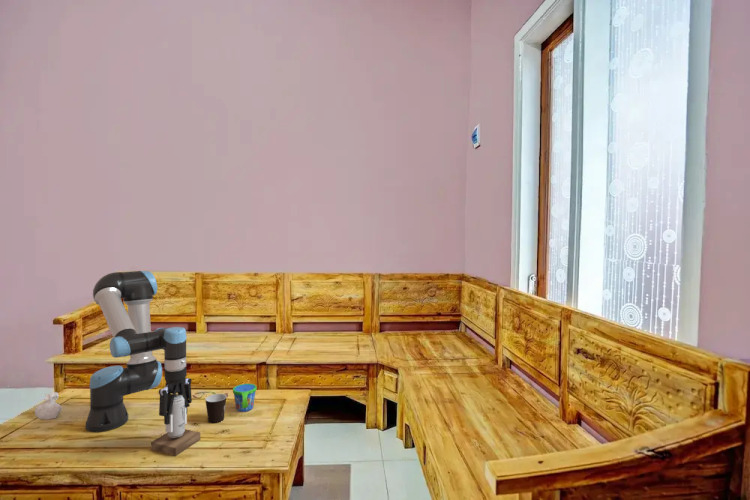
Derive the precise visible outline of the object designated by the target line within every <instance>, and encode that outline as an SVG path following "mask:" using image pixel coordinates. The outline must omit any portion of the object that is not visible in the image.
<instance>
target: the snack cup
mask: <svg viewBox="0 0 750 500" xmlns="http://www.w3.org/2000/svg"><path fill="white" fill-rule="evenodd" d="M256 391H257V385H256V384H254V383H241V384H239V385H236V386H234V387H233V388H232V394H233V397H234V401H235V408H236V411H237V412H242V413H243V412H244V413H245V412H249V411H251V410H253V408H254V406H255V404H254V403H255V399H256V393H257V392H256Z"/></svg>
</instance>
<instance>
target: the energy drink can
mask: <svg viewBox="0 0 750 500" xmlns="http://www.w3.org/2000/svg"><path fill="white" fill-rule="evenodd" d="M171 415H173V432H166V433H167V435H169V437H170V438H176V437H180V436H181V435H183V433H184V431H185V429H186V424H185V399H184V398H183V395H179V394H178V393H176V396H175V397H174V401H173V406H172V410H171Z"/></svg>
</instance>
